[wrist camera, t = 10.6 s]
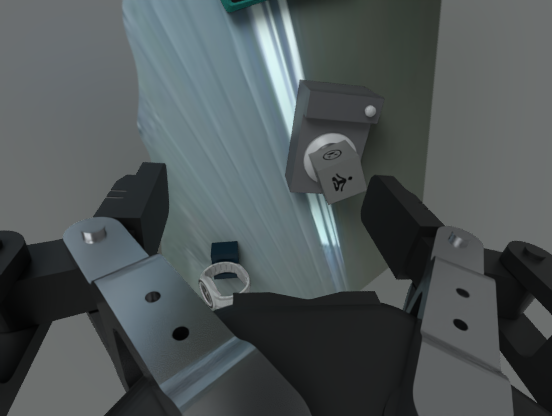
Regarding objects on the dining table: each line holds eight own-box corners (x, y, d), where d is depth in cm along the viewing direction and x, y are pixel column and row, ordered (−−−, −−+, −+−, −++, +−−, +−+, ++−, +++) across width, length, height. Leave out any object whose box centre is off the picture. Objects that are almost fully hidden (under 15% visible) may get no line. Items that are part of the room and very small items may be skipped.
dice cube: (308, 154, 40) (317, 171, 36) (345, 139, 39) (358, 155, 35) (318, 185, 43) (328, 204, 38) (353, 172, 42) (367, 190, 38)
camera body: (299, 79, 40) (311, 92, 34) (364, 86, 42) (386, 99, 36) (285, 176, 48) (292, 200, 42) (340, 179, 49) (355, 202, 43)
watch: (200, 243, 53) (193, 293, 44) (247, 240, 54) (250, 288, 45) (204, 268, 56) (198, 319, 47) (249, 264, 57) (252, 313, 48)
